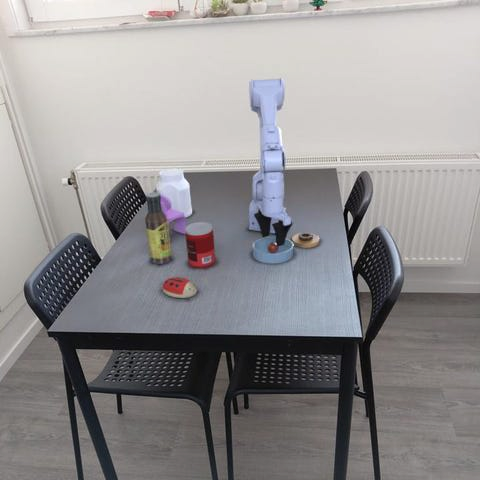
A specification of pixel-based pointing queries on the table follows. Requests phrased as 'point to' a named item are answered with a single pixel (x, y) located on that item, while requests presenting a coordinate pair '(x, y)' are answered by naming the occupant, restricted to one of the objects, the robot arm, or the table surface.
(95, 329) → the table surface
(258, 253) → the light blue bowl
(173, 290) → the ladybug figurine
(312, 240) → the holder
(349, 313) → the table surface
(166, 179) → the jar
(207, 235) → the canned food
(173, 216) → the toy chair
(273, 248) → the ball
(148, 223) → the sauce bottle
